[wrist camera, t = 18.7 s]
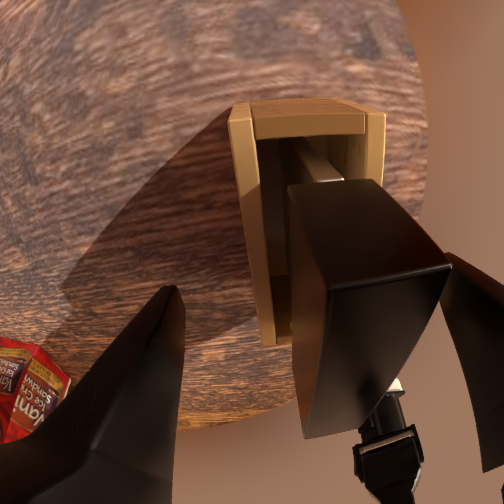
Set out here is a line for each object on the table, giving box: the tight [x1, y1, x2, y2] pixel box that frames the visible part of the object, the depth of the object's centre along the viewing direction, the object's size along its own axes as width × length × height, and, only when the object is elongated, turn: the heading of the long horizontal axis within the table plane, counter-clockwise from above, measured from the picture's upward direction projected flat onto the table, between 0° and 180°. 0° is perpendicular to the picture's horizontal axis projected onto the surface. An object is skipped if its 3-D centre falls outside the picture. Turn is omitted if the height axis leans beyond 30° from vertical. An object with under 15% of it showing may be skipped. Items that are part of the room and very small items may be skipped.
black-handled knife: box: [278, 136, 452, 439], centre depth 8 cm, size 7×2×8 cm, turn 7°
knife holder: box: [227, 97, 386, 346], centre depth 10 cm, size 9×4×4 cm, turn 7°
